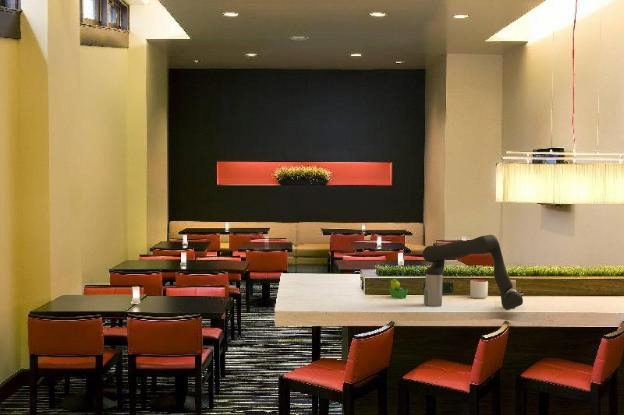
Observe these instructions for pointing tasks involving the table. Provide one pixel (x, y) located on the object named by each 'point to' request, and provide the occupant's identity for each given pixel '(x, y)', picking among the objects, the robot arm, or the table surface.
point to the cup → (479, 289)
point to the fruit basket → (397, 290)
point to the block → (513, 285)
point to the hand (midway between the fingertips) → (510, 290)
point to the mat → (499, 306)
